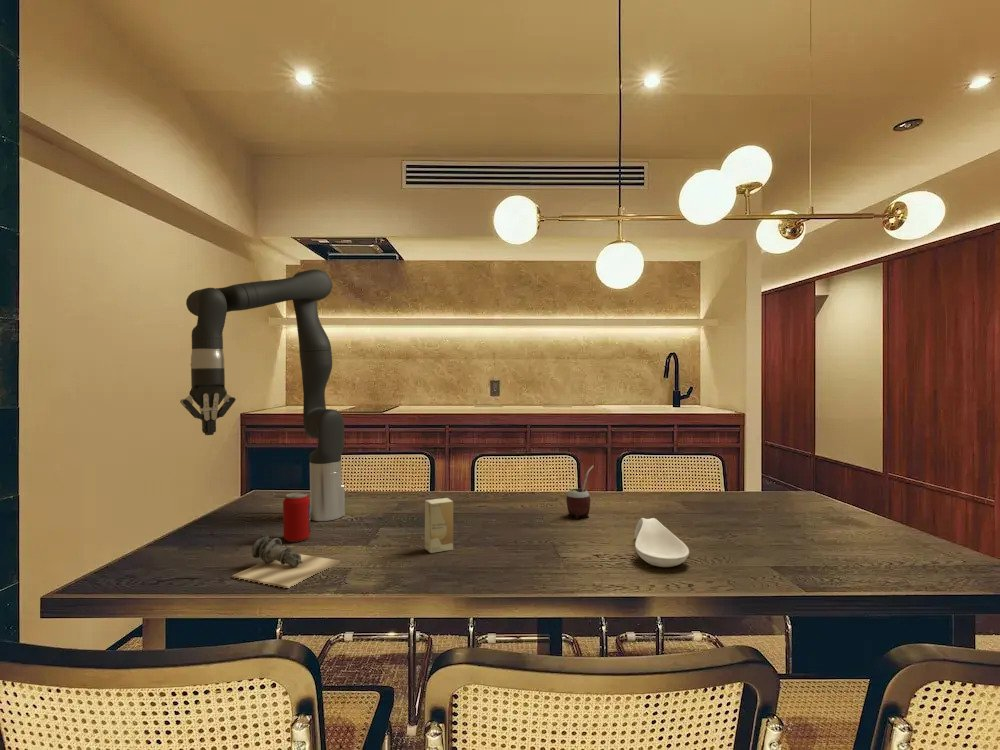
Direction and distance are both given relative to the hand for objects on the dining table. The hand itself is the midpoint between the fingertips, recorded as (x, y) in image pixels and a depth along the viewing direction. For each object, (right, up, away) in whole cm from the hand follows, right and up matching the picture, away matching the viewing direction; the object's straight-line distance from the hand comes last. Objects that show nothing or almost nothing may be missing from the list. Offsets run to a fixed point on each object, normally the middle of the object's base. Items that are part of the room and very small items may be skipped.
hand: (209, 434), depth 138 cm
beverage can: (+20, -29, +6) cm, 36 cm away
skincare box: (+59, -28, -3) cm, 66 cm away
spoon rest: (+111, -28, -9) cm, 115 cm away
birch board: (+27, -29, -16) cm, 42 cm away
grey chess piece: (+18, -24, -13) cm, 33 cm away
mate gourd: (+98, -28, +24) cm, 105 cm away
